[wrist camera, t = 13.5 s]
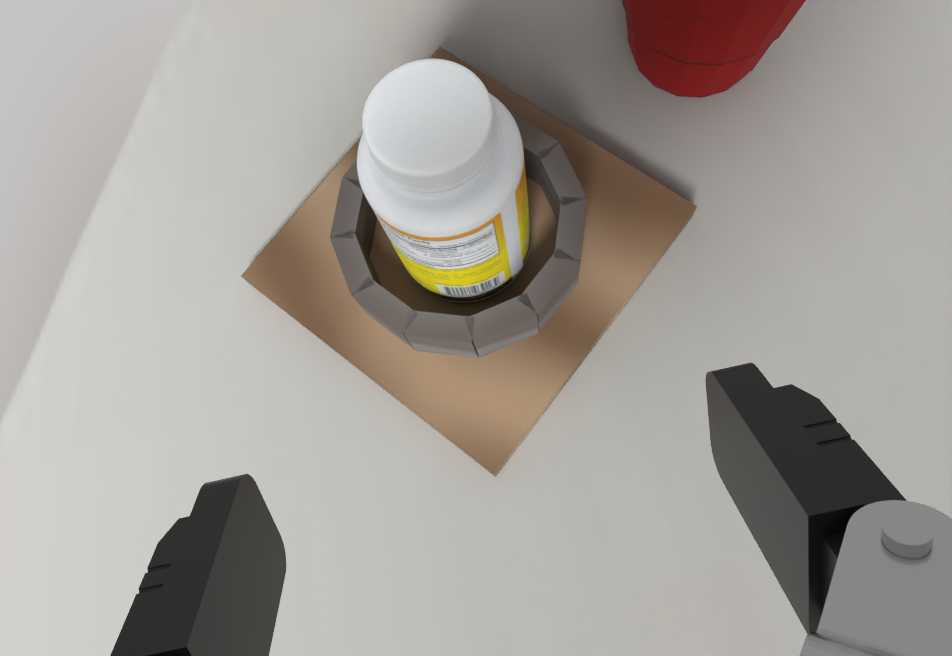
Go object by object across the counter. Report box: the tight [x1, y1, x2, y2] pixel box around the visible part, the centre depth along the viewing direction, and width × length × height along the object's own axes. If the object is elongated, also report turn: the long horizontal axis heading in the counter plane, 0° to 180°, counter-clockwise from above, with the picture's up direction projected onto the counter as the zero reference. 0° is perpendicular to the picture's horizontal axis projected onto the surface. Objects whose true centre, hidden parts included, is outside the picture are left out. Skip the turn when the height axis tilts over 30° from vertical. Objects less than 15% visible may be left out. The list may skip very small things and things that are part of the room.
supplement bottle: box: [357, 59, 531, 303], centre depth 27 cm, size 6×6×10 cm
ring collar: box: [241, 47, 697, 477], centre depth 31 cm, size 14×14×4 cm
